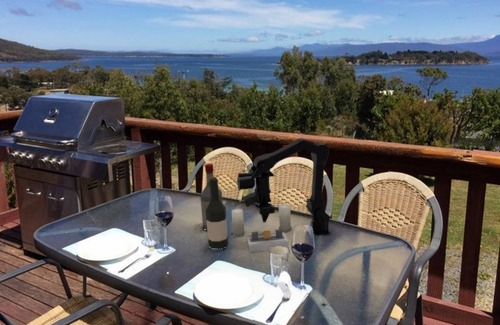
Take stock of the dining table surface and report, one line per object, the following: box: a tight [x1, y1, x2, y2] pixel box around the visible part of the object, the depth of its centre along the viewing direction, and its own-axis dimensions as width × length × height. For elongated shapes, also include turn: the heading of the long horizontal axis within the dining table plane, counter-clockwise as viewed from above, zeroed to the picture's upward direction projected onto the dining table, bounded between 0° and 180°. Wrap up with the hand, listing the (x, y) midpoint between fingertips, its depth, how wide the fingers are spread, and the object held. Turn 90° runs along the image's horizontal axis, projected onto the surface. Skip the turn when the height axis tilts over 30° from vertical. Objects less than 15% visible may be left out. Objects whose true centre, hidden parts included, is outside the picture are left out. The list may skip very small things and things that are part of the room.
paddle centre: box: [263, 229, 271, 239], centre depth 173 cm, size 2×1×3 cm, turn 97°
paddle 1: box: [251, 230, 259, 240], centre depth 173 cm, size 2×1×3 cm, turn 97°
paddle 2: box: [275, 228, 282, 238], centre depth 174 cm, size 2×1×3 cm, turn 98°
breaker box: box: [246, 232, 290, 253], centre depth 174 cm, size 16×9×3 cm, turn 97°
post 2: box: [278, 203, 293, 233], centre depth 188 cm, size 6×6×11 cm
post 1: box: [231, 208, 246, 237], centre depth 186 cm, size 6×6×11 cm
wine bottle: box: [206, 176, 229, 249], centre depth 172 cm, size 8×8×30 cm
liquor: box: [200, 163, 224, 231], centre depth 191 cm, size 9×9×30 cm
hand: (264, 222), depth 178 cm, fingers closed
